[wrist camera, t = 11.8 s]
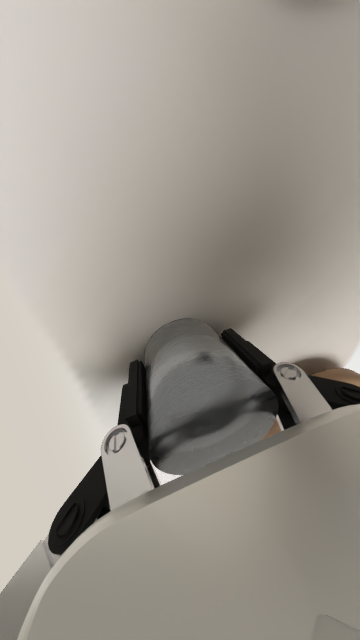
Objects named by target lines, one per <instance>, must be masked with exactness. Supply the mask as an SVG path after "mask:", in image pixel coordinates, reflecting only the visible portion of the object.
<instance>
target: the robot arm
mask: <svg viewBox="0 0 360 640" xmlns="http://www.w3.org/2000/svg"><path fill="white" fill-rule="evenodd" d="M221 336H222V339H223V340H224V341H225V342H226V343H227V344H228V345H229V347H230V348H231V349H232V350H233V351H234V352H235V353H236V354H237V355H238V356H239V357H240V358H241V359H242V360H243V361H244V362H245V363H246V364H247V365H248V366H249V368H250V369H251V370H252V371H253V372H254V373H255V374H256V375H257V376H258V377H259V378H260V379H261V380H262V381H263V382H264V383H265V384H266V385H267V386H268V387H269V388H270V390H271V391H272V392H273V393H274V394H275V395H276V398H277V400H278V413H277V417H276V419H277V421H278V424H279V426H280V429H281V432H279V433H277V434H274V435H272V436H270V437H267V438H265V439H263V440H261V441H258V442H256V443H254V444H252V445H250V446H247V447H245V448H243V449H241V450H238V451H236V452H234V453H232V454H229V455H227V456H225V457H223V458H221V459H218V460H216V461H214V462H212V463H209V464H207V465H205V466H203V467H201V468H198V469H196V470H194V471H192V472H190V473H187V474H185V475H183V476H181V477H179V478H177V479H174V480H172V481H170V482H168V483H166V484H163V485H161V483H160V480H159V478H158V476H157V473H156V471H155V468H154V466H153V464H152V462H151V460H150V456H149V444H148V421H147V398H146V375H145V367H144V365H143V362H142V361H140V362H139V360H136V361H133V362H130V368H129V379H128V384H125V385H123V388H122V396H121V403H120V411H119V419H118V425H117V426H116V427H114V428H112V429H111V430H110V431H109V432H108V434H107V435H106V436H105V438H104V440H103V442H102V445H101V456H100V457H99V459H98V460H97V461H96V463H95V464H94V465H93V467H92V468H91V469H90V470H89V472H88V473H87V474H86V476H85V477H84V478H83V480H82V481H81V482H80V483H79V485H78V486H77V488H76V489H75V490H74V491H73V493H72V494H71V495H70V496H69V498H68V499H67V500H66V502H65V503H64V504H63V506H62V507H61V508H60V510H59V512H58V513H57V515H56V517H55V519H54V521H53V523H52V526H51V529H50V532H49V535H48V537H47V538H46V539H45V540H44V541H40V542H39V544H38V545H37V546H36V547H35V549H34V550H33V551H32V553H31V554H30V555H29V557H28V558H27V559H26V561H25V562H24V563H23V564H22V566H21V567H20V569H19V570H18V571H17V572H16V574H15V575H14V576H13V578H12V579H11V580H10V582H9V583H8V584H7V585H6V587H5V588H4V589H3V591H2V592H1V594H0V640H360V387H358V386H356V385H354V384H350V383H346V382H341V381H337V380H332V379H327V378H322V377H317V376H312V375H307V374H305V372H304V371H303V370H302V369H301V368H300V367H298V366H297V365H295V364H292V363H288V362H281V363H278V364H276V363H275V362H273V361H272V360H271V359H270V358H269V357H267V356H266V355H265V354H264V353H262V352H261V351H260V350H259V349H258V348H256V347H255V346H254V345H253V344H251V343H250V342H249V341H246V340H244V339H243V338H242V337H241V336H240V335H238V334H237V333H236V332H235V331H234V330H232V329H231V328H230V329H227V330H224V331H223V333H221Z"/></svg>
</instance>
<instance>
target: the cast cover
mask: <svg viewBox="0 0 360 640" xmlns="http://www.w3.org/2000/svg"><path fill="white" fill-rule="evenodd" d="M145 375H146V398H147V421H148V444H149V456H150V460H151V462H152V464H153V465H154V466H155V467H156V468H158V469H159V470H161V471H163V472H165V473H169V474H174V475H185V474H187V473H190V472H192V471H194V470H196V469H198V468H201V467H203V466H205V465H207V464H209V463H212V462H214V461H216V460H218V459H221V458H223V457H225V456H227V455H229V454H232V453H234V452H236V451H238V450H241V449H243V448H245V447H247V446H250V445H252V444H254V443H256V442H258V441H260V440H261V439H262V438H263V437H264V436H265V435H266V434H267V433H268V431H269V430H270V428H271V427H272V425H273V423H274V422H275V419H276V417H277V413H278V400H277V398H276V395H275V394H274V393H273V392H272V391H271V390H270V388H269V387H268V386H267V385H266V384H265V383H264V382H263V381H262V380H261V379H260V378H259V377H258V376H257V375H256V374H255V373H254V372H253V371H252V370H251V369H250V368H249V366H248V365H247V364H246V363H245V362H244V361H243V360H242V359H241V358H240V357H239V356H238V355H237V354H236V353H235V352H234V351H233V350H232V349H231V348H230V347H229V345H228V344H227V343H226V342H225V341H224V340H223V339H222V338H221V337H220V336H219V335H218V334H217V333H216V332H215V331H214V330H213V329H212V328H211V327H210V326H209V325H208V324H206V323H205V322H202V321H200V320H196V319H179V320H176V321H173V322H170V323H168V324H166V325H164V326H163V327H161V328H160V329H159V330H157V331H156V332H155V333H154V335H153V336H152V337H151V338H150V340H149V342H148V344H147V346H146V349H145Z"/></svg>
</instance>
